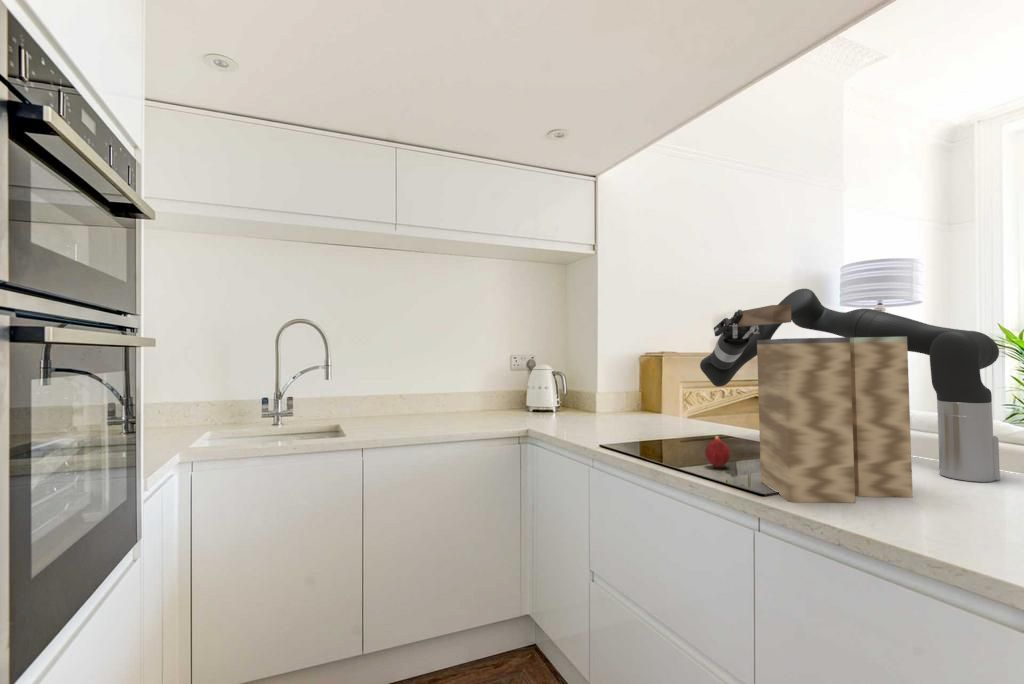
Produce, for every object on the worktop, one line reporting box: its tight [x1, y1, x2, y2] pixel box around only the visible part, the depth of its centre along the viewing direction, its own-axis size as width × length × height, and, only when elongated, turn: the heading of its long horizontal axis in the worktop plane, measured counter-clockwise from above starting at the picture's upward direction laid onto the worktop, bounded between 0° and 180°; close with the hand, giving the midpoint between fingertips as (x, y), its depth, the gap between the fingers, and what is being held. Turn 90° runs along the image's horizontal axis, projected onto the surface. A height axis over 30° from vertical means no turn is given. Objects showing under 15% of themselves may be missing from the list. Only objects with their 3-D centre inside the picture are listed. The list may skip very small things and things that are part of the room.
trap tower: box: [756, 336, 856, 504], centre depth 103 cm, size 12×14×32 cm
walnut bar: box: [737, 304, 792, 327], centre depth 123 cm, size 4×24×4 cm, turn 175°
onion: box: [704, 435, 731, 469], centre depth 125 cm, size 6×6×8 cm
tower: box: [850, 336, 914, 498], centre depth 105 cm, size 10×14×32 cm
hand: (749, 312), depth 130 cm, fingers closed on walnut bar, 4 cm apart
